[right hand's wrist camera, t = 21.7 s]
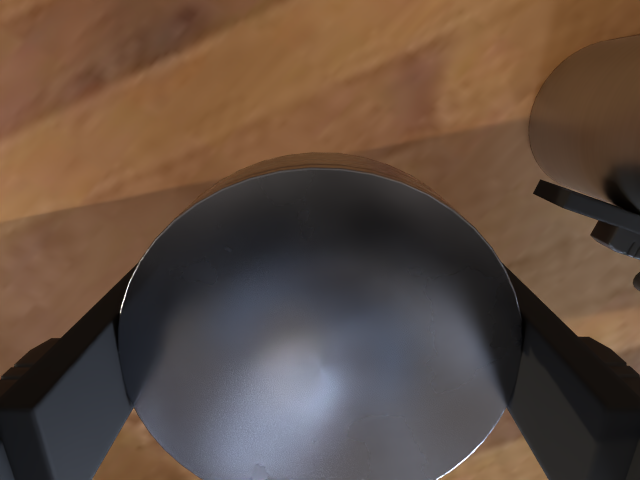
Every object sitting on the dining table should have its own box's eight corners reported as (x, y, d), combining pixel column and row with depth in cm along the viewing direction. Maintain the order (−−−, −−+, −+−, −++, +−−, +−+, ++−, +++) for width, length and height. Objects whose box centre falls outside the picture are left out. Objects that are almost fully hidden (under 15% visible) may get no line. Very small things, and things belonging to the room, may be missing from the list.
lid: (482, 120, 10) (521, 129, 8) (494, 429, 14) (524, 488, 12) (102, 186, 11) (52, 209, 9) (201, 467, 14) (181, 531, 12)
